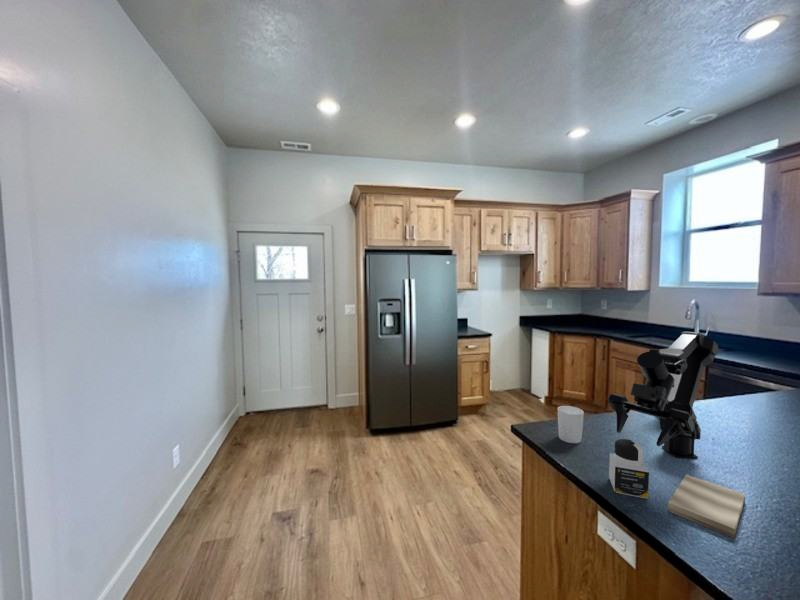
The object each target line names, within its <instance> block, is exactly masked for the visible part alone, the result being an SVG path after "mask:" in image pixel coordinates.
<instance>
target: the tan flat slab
mask: <svg viewBox="0 0 800 600" xmlns="http://www.w3.org/2000/svg"><path fill="white" fill-rule="evenodd" d="M667 502H668V503H667V511H668V512H669V513H672V514H675V515H676V516H679V517H681V518H684V519H686V520H689V521H691V522H694V523H696V524H699V525H701V526H703V527H706V528H708V529H711V530H713V531H716V532H718V533H720V534H722V535H724V536H725V535H726V536H727V535H728V536H727V537H730V538H732V539H735V538H736V531H737V527H738V524H739V521H740V518H741V514H742V511H743V507H744V506H745V504H746V494H745V493H743V492H740V491H737V490H734V489H730V488H728V487H725V486H722V485H718V484H716V483H713V482H710V481H706V480H704V479H701V478H698V477H695V476H692V475H689V474H685V476H684V477H683V479H682V480H681V482H680V483H679V485H678V486H677V488H676V490H675V491H674V492H673V494H672V496H671V498H670V499H669V501H667Z"/></svg>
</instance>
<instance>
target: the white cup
mask: <svg viewBox="0 0 800 600" xmlns="http://www.w3.org/2000/svg"><path fill="white" fill-rule="evenodd" d="M584 416H585V415H584V410H583V409H581V408H579V407H576V406H571V405H561V406H558V407H557V428H558V438H559V439H560V440H561V441H563V442H564V443H565V442H566V443H568V444H579V443H581V442H582V435H583V426H584Z"/></svg>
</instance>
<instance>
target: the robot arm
mask: <svg viewBox="0 0 800 600" xmlns="http://www.w3.org/2000/svg"><path fill="white" fill-rule="evenodd" d="M718 354H719V345H718V344H717V342H716V341H715V340H714V339H712V338H709V337H707V336H705V335H704V334H703V333H701V332H696V331H695V332H694V331H681V332H680V336H679V337H678V338H677V339H676V340H675V341H674V342H673V343H672V344H671V345H670V346H669V347H668V348H667V347H666V348H660V349H656V348H655V349H654V348H650V349H649V350H648V351H646V352H643V353H641V354H640V355H638V356H637V358H636V361H637V365H638V366H639V368H640V370H641V372H642V374H643V377H645V378H646V381H645V383H644V384H638V383H635V382H633V383H632V388H631V391H630V395H631V396H634V398H633V400H634V402H629V400H628V399H627V397H626V396H624V395H620V394H617V393H610V394H609V395H608V397H607V399H606V401H607V402H608V404H609V405H610V407H611V409H612V410H613V412H615V414H616V432H617V433H618V434H621V432H622V430H623V429H624V427H625V424H626V423H627V420H628V418H629V414H628V413H630V411H633V412H638V413H640V414H644V415H648V416H651V417H655V418H658V420H659V425H660V427H659V428H660V434H659V435H658V438H657V440H656V446H657V447H661V448H662V449H664V450H665V451H666V452H667V453H669V454H670V455H671V456H672V457H675V458H686V459H698V458H699V456H698V455H696V453H695V440H701V436H702V433H701V431H702V429H701V427H700V425H699V422H698V421H697V416H696V413H695V410H694V408H693V407H694V404H695V400H696V395H697V393H698V390H699V387H700V384H701V383H700V382H701V380H702V376H703V372H704V369H705V368H706V367H707V366H709V365H710V364H712V363H713V362H714V359H715V357H716V356H718ZM669 373H671V374H676V375H680V374H681V379H680V382H679V385H678V388H677V391H676V395H675V398H674V400H672V401H668V397H669V394H670V391H671V389H672V387H674V381H675V380H674V378H673V376H672V375H671V374H669ZM635 402H636V403H635Z"/></svg>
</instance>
